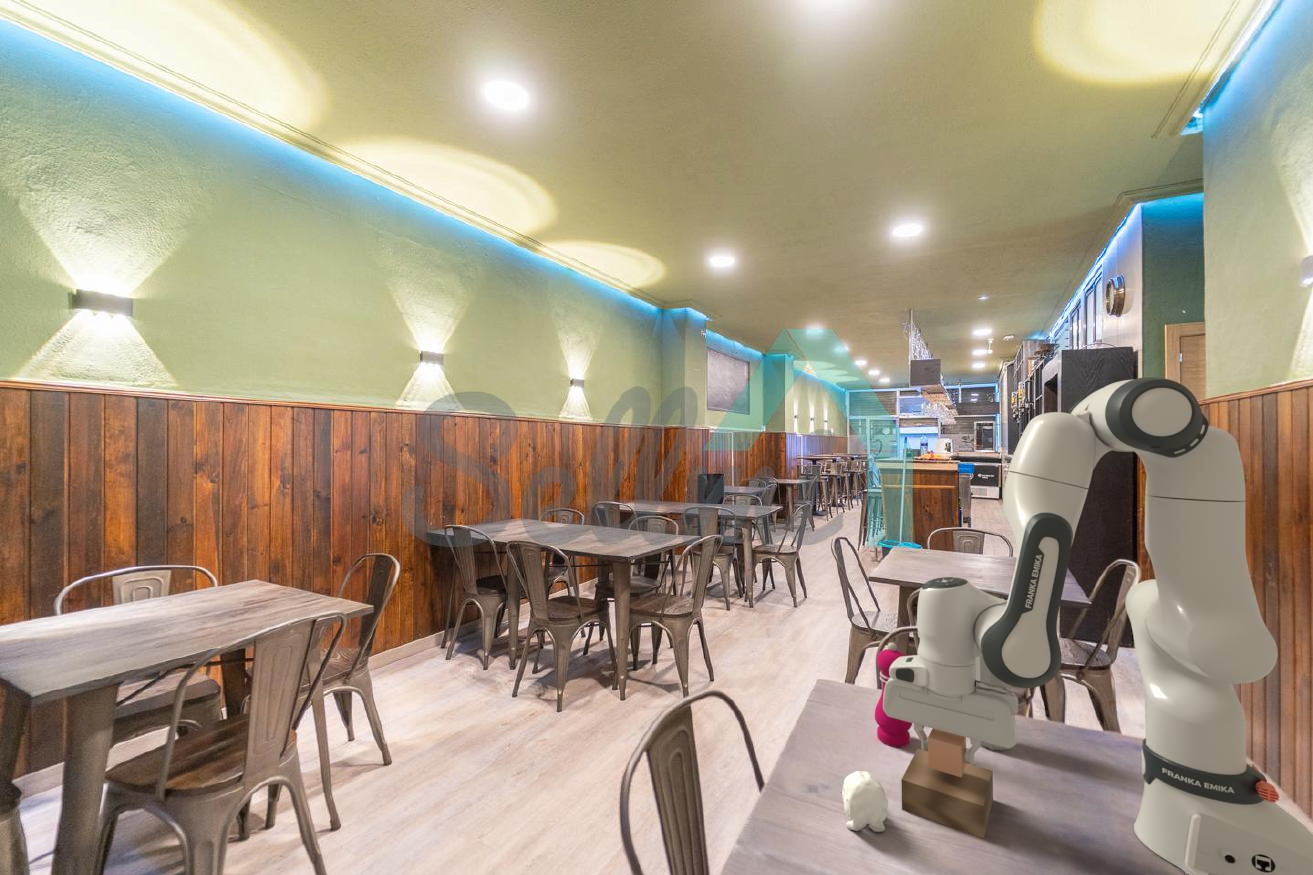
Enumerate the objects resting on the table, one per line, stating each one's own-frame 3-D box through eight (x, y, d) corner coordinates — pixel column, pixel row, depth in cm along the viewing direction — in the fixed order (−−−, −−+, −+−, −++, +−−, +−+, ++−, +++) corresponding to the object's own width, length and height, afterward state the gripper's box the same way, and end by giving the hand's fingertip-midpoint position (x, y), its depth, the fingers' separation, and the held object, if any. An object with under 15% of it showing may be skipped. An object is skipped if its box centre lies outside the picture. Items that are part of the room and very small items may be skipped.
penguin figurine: (847, 781, 88) (832, 748, 100) (849, 840, 87) (834, 799, 99) (889, 784, 88) (869, 750, 99) (892, 843, 87) (871, 802, 98)
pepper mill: (918, 748, 114) (917, 648, 114) (882, 748, 114) (881, 648, 114) (903, 730, 121) (902, 636, 122) (869, 730, 121) (868, 636, 122)
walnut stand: (993, 799, 98) (992, 770, 98) (984, 838, 88) (983, 806, 88) (917, 775, 105) (917, 748, 105) (901, 809, 95) (901, 779, 95)
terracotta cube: (966, 763, 97) (965, 734, 97) (961, 777, 93) (961, 746, 93) (934, 754, 100) (933, 725, 100) (928, 767, 96) (927, 737, 96)
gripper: (1019, 682, 93) (1021, 767, 93) (889, 655, 105) (890, 730, 105) (1016, 696, 88) (1018, 786, 88) (879, 666, 100) (880, 745, 100)
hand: (947, 755), depth 96 cm, fingers closed on terracotta cube, 5 cm apart
